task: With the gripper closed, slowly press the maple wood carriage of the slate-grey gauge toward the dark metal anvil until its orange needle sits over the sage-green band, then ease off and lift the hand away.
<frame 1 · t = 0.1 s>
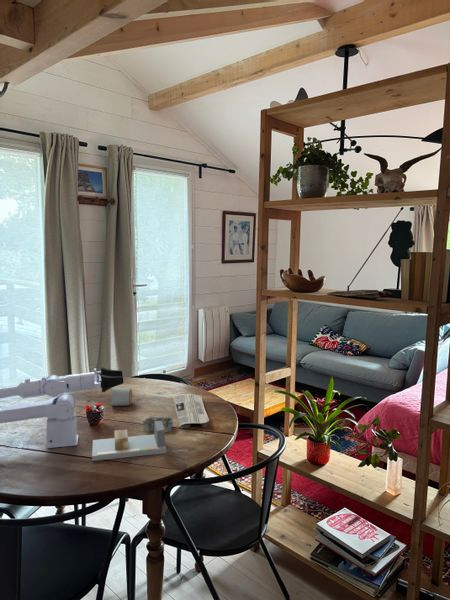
hand: (122, 376, 151), 22 cm above the table, tool horizontal, fingers open, 7 cm apart
newspaper: (191, 413, 179), on the table
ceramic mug: (121, 404, 187), on the table
gauge bed: (128, 448, 145), on the table
egg carton: (158, 429, 162), on the table
carriage: (121, 440, 143), point 3 cm above the table, slide at 0.0 cm
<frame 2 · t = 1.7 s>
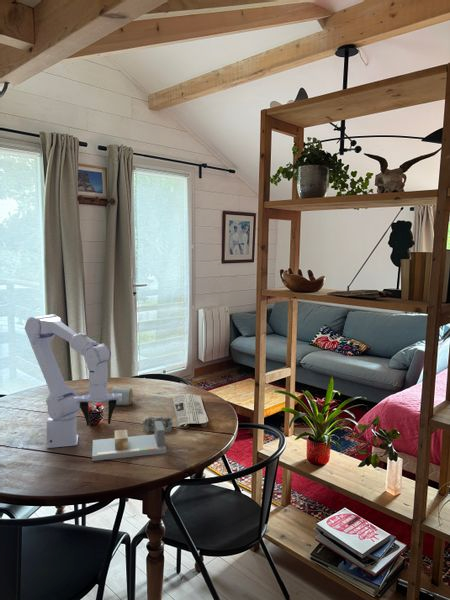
hand: (98, 423, 141), 9 cm above the table, tool pointing down, fingers open, 6 cm apart
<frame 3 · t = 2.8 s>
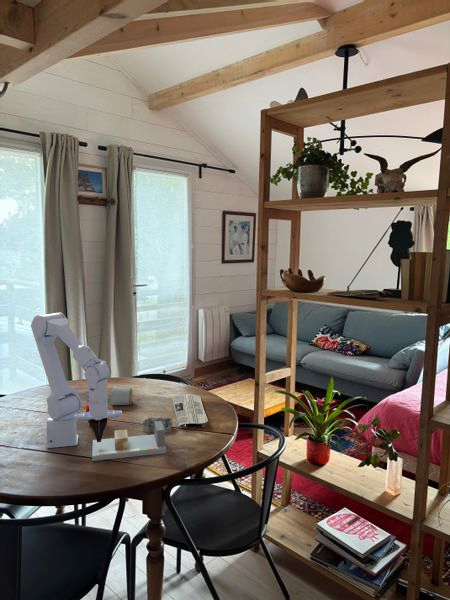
hand: (99, 440, 142), 4 cm above the table, tool pointing down, fingers closed
nothing on the table moved.
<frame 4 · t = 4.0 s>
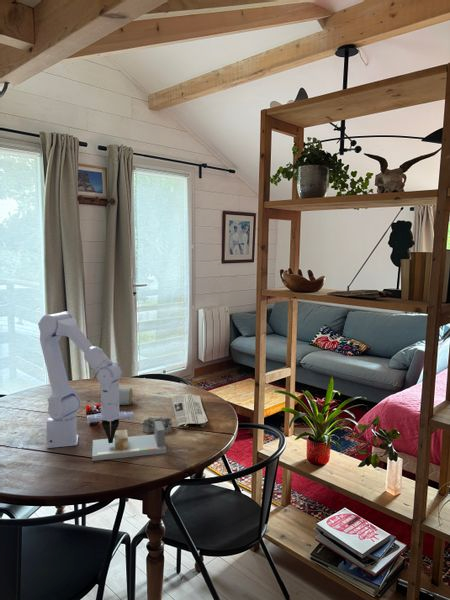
hand: (110, 441, 143), 3 cm above the table, tool pointing down, fingers closed
carriage: (121, 440, 143), point 3 cm above the table, slide at 0.0 cm, touching gripper
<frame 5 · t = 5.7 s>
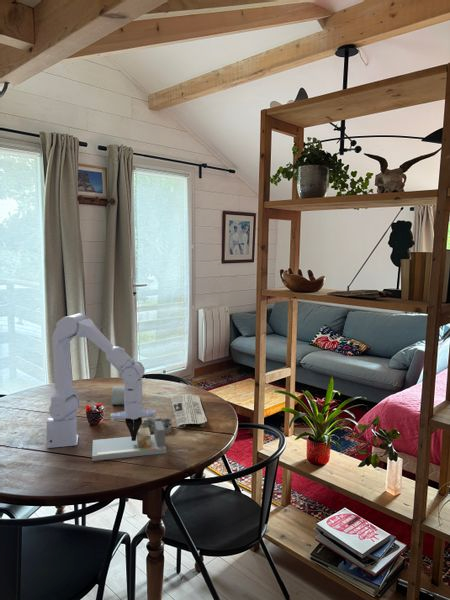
hand: (133, 439, 145), 3 cm above the table, tool pointing down, fingers closed
carriage: (143, 438, 145), point 3 cm above the table, slide at 7.3 cm, touching gripper
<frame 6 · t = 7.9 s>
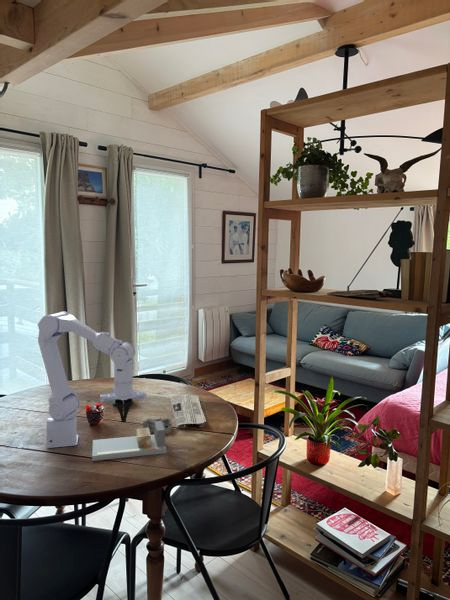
hand: (123, 421, 144), 9 cm above the table, tool pointing down, fingers closed
carriage: (143, 438, 145), point 3 cm above the table, slide at 7.3 cm
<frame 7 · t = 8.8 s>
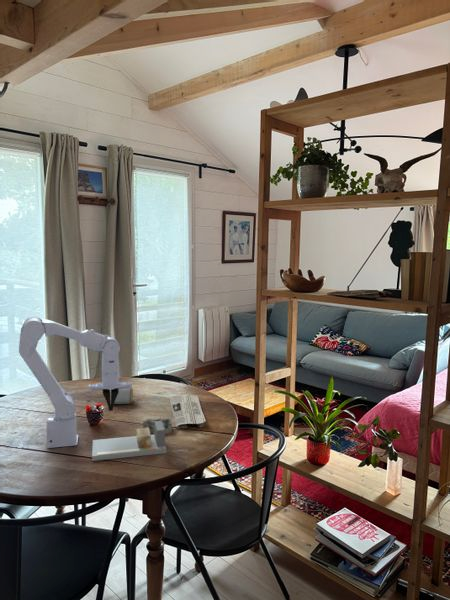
hand: (110, 409, 154), 9 cm above the table, tool pointing down, fingers closed
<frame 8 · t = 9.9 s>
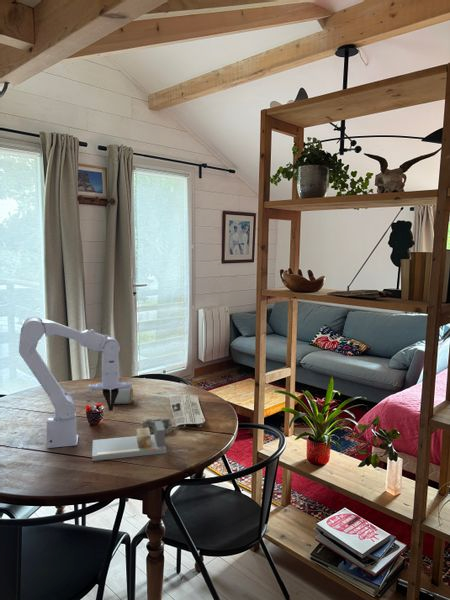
hand: (110, 409, 154), 9 cm above the table, tool pointing down, fingers closed
at the end: carriage slide at 7.3 cm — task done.
